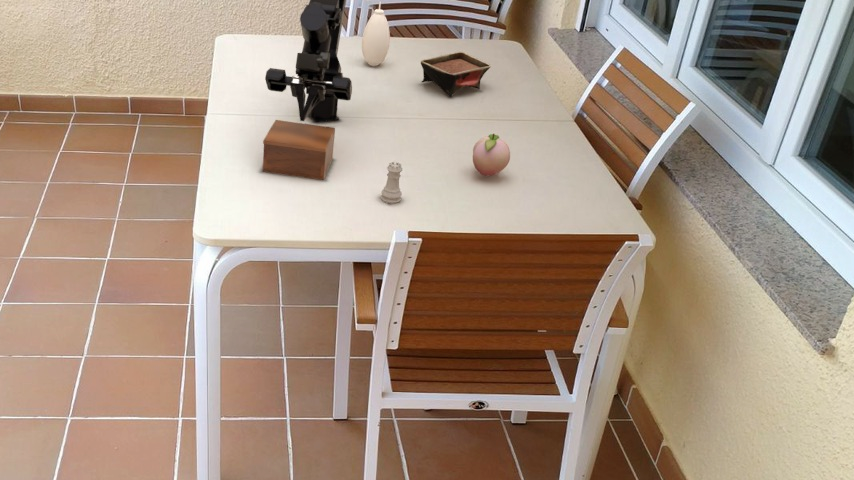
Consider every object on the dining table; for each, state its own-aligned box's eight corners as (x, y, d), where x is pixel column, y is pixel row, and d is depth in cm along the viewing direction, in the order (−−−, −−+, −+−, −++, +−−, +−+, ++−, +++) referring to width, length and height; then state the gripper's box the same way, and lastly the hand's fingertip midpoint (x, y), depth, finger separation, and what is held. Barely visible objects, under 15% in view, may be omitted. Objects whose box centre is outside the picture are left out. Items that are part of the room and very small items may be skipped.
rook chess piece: (378, 194, 206) (382, 159, 201) (399, 195, 206) (403, 160, 202) (382, 204, 202) (386, 168, 198) (403, 204, 203) (407, 168, 198)
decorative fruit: (505, 187, 213) (514, 144, 207) (468, 182, 214) (476, 139, 208) (505, 170, 220) (514, 128, 215) (469, 165, 221) (477, 123, 216)
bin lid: (325, 152, 206) (325, 148, 205) (263, 143, 208) (263, 140, 207) (334, 131, 216) (335, 127, 215) (275, 123, 218) (275, 119, 217)
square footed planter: (489, 99, 265) (498, 61, 260) (442, 99, 255) (450, 60, 250) (453, 86, 275) (460, 50, 270) (406, 86, 265) (413, 48, 260)
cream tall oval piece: (360, 59, 280) (367, -5, 270) (387, 62, 280) (395, -2, 269) (358, 67, 274) (365, 2, 264) (386, 70, 273) (393, 5, 263)
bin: (323, 180, 210) (326, 150, 206) (262, 171, 212) (264, 142, 208) (332, 159, 220) (334, 131, 216) (274, 151, 222) (275, 123, 218)
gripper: (269, 30, 207) (255, 98, 204) (355, 41, 204) (342, 109, 202) (275, 56, 218) (262, 120, 215) (356, 66, 215) (344, 131, 212)
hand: (301, 120), depth 211 cm, fingers closed
